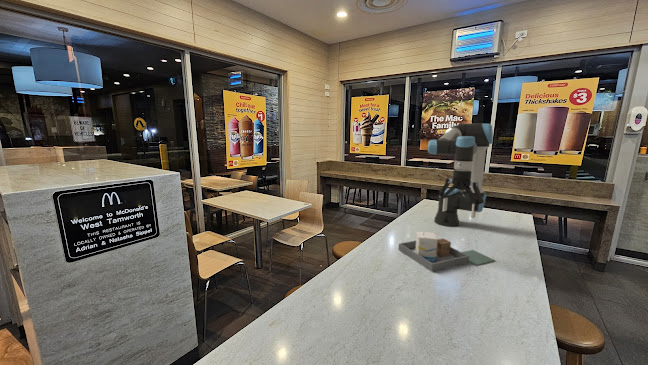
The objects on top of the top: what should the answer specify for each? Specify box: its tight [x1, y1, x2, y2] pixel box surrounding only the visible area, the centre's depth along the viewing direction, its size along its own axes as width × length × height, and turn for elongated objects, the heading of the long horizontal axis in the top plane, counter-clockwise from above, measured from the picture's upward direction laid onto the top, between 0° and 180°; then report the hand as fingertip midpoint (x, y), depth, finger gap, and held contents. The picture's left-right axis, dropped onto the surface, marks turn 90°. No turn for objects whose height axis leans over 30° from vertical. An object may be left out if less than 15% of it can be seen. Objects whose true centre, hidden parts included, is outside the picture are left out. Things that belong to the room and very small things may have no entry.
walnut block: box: [436, 238, 452, 258], centre depth 134 cm, size 5×6×7 cm
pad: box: [461, 249, 496, 267], centre depth 131 cm, size 12×12×1 cm
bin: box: [398, 240, 470, 273], centre depth 132 cm, size 24×22×4 cm
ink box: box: [414, 231, 438, 263], centre depth 130 cm, size 9×8×12 cm
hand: (458, 214), depth 129 cm, fingers open, 13 cm apart
